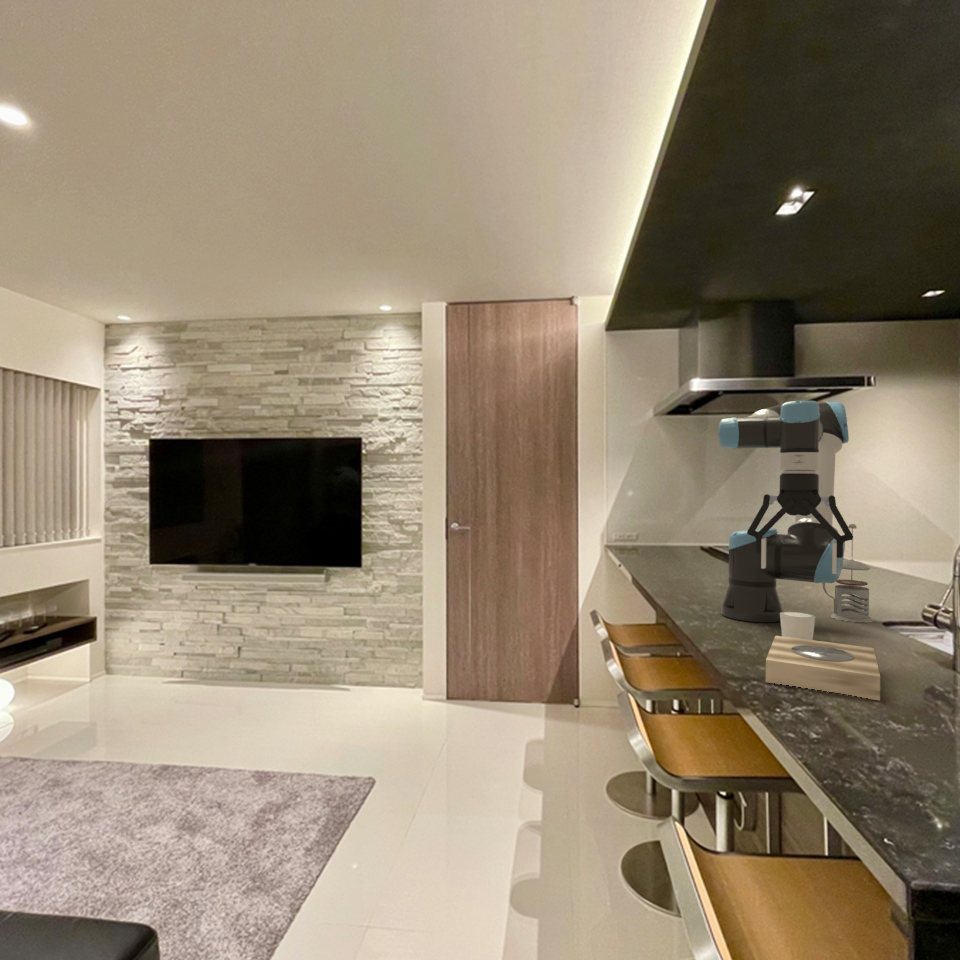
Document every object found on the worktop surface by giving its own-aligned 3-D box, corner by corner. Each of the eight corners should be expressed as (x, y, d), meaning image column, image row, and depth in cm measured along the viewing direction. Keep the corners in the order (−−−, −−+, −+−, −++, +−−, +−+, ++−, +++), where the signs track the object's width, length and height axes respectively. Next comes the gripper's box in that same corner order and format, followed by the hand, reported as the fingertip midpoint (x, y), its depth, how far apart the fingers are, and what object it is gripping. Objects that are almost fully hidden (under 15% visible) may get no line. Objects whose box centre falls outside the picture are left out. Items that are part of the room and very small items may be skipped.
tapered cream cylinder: (819, 651, 128) (820, 618, 128) (784, 649, 129) (784, 616, 129) (808, 643, 135) (809, 611, 135) (775, 641, 136) (775, 610, 136)
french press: (878, 624, 154) (879, 525, 154) (826, 620, 158) (827, 524, 158) (868, 616, 163) (869, 523, 163) (819, 612, 167) (820, 521, 167)
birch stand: (775, 655, 125) (775, 634, 125) (873, 668, 116) (873, 646, 116) (765, 682, 108) (765, 658, 108) (880, 700, 99) (880, 675, 99)
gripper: (734, 472, 135) (733, 567, 135) (868, 472, 122) (866, 577, 122) (739, 472, 141) (738, 563, 141) (866, 473, 129) (865, 572, 129)
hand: (798, 570), depth 132 cm, fingers open, 13 cm apart
